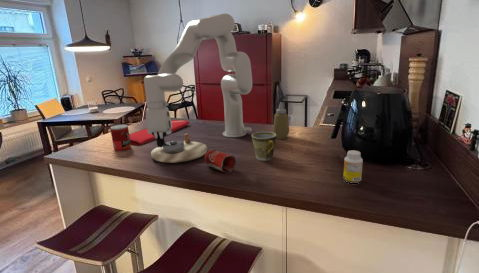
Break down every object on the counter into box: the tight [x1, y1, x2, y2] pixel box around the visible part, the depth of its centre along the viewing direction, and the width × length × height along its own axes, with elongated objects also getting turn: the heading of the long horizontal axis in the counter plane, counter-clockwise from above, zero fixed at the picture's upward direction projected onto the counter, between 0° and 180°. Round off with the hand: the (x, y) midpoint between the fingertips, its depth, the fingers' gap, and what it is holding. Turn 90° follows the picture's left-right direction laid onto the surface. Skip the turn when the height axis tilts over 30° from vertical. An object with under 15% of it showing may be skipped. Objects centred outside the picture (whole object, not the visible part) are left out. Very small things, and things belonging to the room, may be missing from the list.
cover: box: [163, 140, 185, 154], centre depth 124 cm, size 9×9×4 cm
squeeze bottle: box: [272, 101, 290, 140], centre depth 142 cm, size 8×8×18 cm
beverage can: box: [204, 149, 237, 174], centre depth 109 cm, size 7×12×7 cm, turn 45°
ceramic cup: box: [251, 131, 277, 162], centre depth 116 cm, size 13×10×10 cm
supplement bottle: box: [342, 149, 364, 184], centre depth 94 cm, size 6×6×10 cm
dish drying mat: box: [129, 119, 190, 146], centre depth 162 cm, size 16×41×4 cm, turn 152°
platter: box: [150, 133, 208, 164], centre depth 125 cm, size 24×24×5 cm
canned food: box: [110, 124, 132, 152], centre depth 137 cm, size 8×8×11 cm
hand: (161, 146), depth 126 cm, fingers closed
